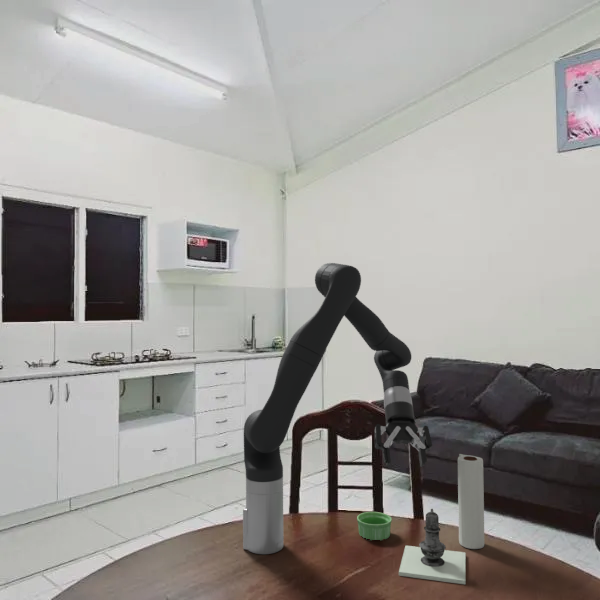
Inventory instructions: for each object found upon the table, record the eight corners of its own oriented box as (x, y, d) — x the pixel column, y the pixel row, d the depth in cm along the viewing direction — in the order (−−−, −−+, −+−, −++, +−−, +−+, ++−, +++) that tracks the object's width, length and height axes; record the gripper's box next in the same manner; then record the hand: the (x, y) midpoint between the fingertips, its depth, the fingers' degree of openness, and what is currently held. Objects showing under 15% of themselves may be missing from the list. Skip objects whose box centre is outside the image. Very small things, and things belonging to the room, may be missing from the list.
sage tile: (398, 575, 118) (398, 571, 118) (405, 548, 132) (405, 545, 132) (465, 584, 114) (465, 580, 114) (465, 555, 127) (465, 552, 127)
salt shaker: (446, 568, 120) (445, 513, 120) (419, 566, 121) (418, 512, 121) (445, 556, 125) (444, 504, 126) (419, 554, 126) (418, 503, 127)
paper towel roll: (483, 551, 130) (482, 462, 130) (457, 547, 132) (456, 459, 132) (485, 539, 136) (484, 454, 137) (460, 536, 139) (459, 452, 139)
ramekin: (353, 528, 144) (353, 512, 144) (386, 527, 145) (386, 510, 145) (361, 543, 135) (361, 525, 135) (396, 541, 136) (396, 523, 136)
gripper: (374, 399, 142) (379, 457, 131) (428, 401, 142) (437, 459, 131) (370, 413, 147) (374, 470, 136) (421, 415, 148) (430, 472, 137)
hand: (405, 464), depth 134 cm, fingers open, 8 cm apart
